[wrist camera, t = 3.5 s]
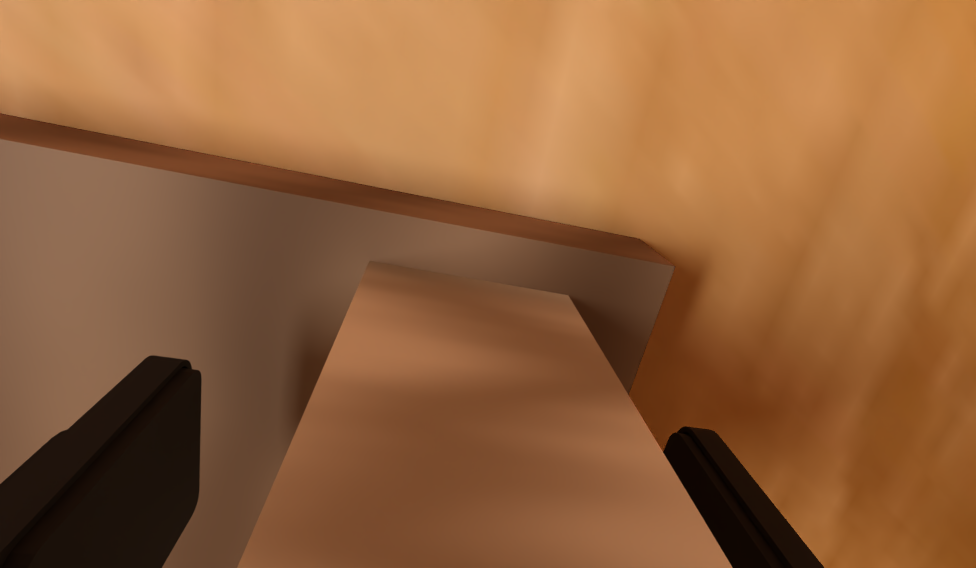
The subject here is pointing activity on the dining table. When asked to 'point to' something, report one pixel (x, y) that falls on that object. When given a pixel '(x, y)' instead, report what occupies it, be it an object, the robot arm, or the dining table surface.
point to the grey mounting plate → (241, 293)
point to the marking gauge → (473, 443)
